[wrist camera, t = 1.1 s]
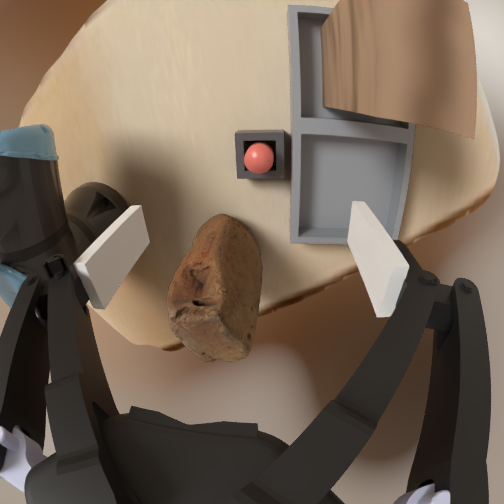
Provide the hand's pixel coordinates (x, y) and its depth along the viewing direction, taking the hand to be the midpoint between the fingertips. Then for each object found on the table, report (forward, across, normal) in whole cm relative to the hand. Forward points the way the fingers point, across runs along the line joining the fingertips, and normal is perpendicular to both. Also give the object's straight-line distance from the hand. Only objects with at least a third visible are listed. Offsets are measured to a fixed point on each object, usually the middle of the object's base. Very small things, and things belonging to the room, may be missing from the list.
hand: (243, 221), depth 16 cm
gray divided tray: (+22, +12, +4) cm, 25 cm away
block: (+23, -5, -14) cm, 27 cm away
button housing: (+22, 0, 0) cm, 22 cm away
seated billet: (+21, +12, +12) cm, 27 cm away
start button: (+20, 0, 0) cm, 20 cm away
